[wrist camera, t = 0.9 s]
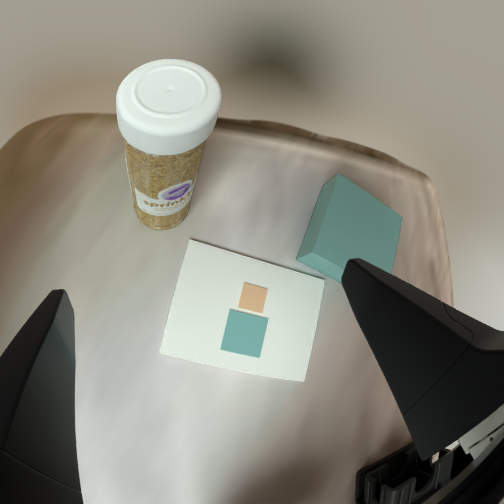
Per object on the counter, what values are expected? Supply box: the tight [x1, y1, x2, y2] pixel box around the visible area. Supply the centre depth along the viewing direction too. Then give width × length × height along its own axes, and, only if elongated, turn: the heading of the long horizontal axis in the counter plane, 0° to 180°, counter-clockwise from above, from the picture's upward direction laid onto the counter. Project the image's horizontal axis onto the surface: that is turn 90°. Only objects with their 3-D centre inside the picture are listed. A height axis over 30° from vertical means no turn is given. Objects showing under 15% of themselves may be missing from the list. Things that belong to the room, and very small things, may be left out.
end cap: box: [355, 441, 451, 504], centre depth 20 cm, size 10×7×7 cm
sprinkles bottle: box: [116, 59, 222, 230], centre depth 17 cm, size 5×5×13 cm
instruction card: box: [159, 239, 325, 382], centre depth 23 cm, size 9×12×1 cm
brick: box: [296, 173, 402, 283], centre depth 26 cm, size 8×8×3 cm
